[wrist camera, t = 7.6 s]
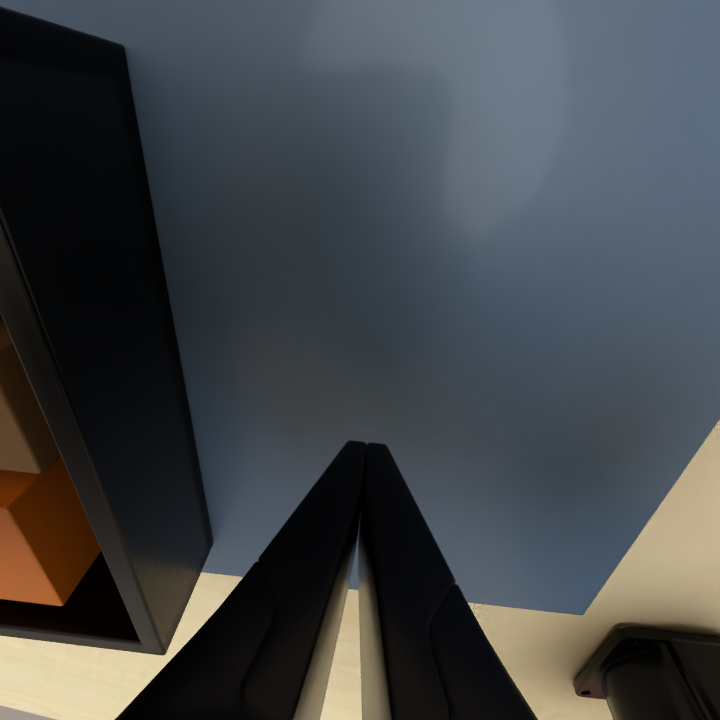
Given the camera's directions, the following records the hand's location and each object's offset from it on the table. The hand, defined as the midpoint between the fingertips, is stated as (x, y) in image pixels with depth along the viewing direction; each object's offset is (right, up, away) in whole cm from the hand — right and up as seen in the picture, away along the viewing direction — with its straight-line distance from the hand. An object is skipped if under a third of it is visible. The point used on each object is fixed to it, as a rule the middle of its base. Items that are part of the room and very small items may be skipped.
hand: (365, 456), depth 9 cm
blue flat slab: (-3, +2, +3) cm, 5 cm away
